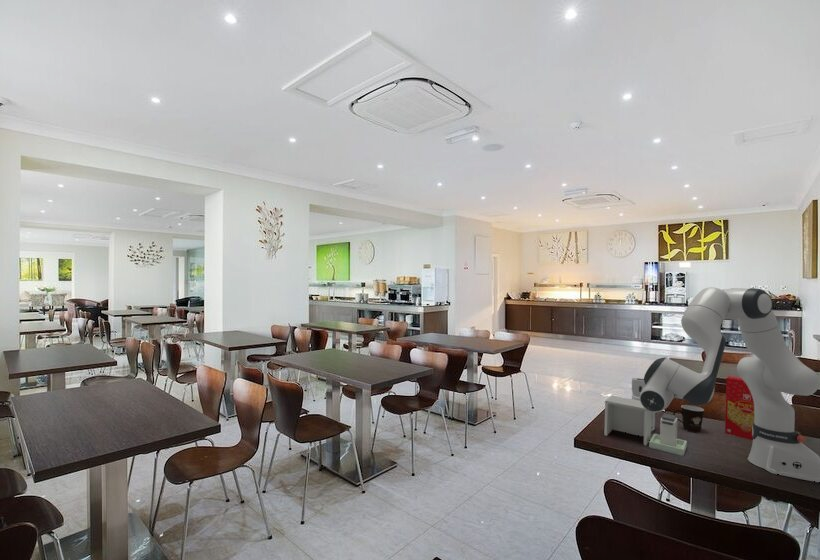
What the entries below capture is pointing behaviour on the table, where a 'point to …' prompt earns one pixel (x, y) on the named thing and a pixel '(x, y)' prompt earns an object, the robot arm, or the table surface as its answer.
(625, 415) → the bay
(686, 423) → the coffee mug
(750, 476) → the table surface
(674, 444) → the white and grey box
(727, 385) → the food packaging
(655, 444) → the tray
